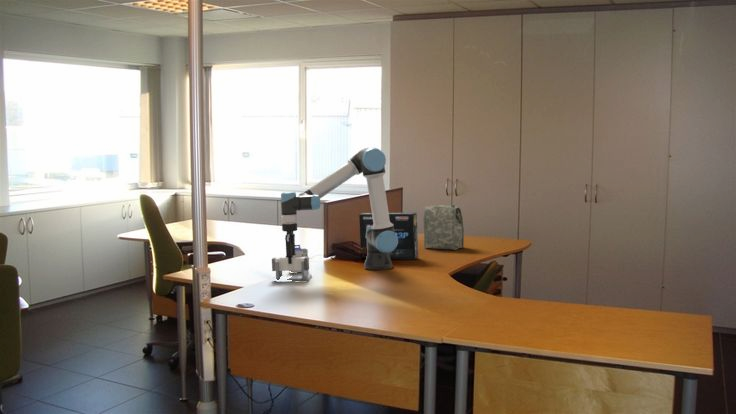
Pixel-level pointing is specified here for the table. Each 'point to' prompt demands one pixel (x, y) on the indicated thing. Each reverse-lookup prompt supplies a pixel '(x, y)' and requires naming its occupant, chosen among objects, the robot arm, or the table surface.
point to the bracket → (296, 277)
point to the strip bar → (296, 263)
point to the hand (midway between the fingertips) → (291, 269)
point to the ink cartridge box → (300, 254)
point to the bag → (443, 227)
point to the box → (403, 229)
